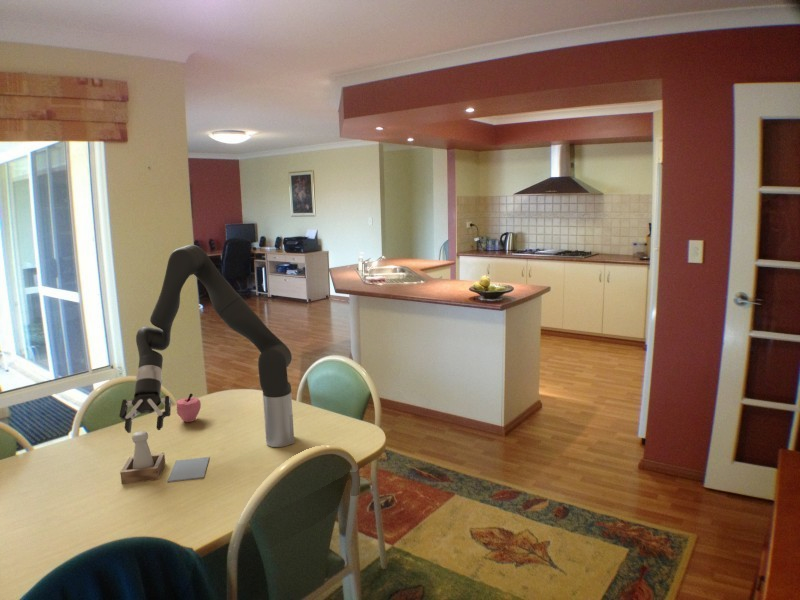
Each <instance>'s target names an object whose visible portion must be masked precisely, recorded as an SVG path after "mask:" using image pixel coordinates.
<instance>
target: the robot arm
mask: <svg viewBox="0 0 800 600" xmlns="http://www.w3.org/2000/svg"><path fill="white" fill-rule="evenodd" d="M167 260H168V261H167V265H166V270H165V275H164V278H163V283H162V287H161V291H160V293H159V297H158V298H157V301H156V303H155V305H154V308H153V311H152V313H151V315H150V319H149V321H150V323H151V325H152V326H154V327H155V328H154V327H150V326H142V327H140V328H139V329H138V330H137V332H136V335H135V343H136V347H137V352H138V358H139V359H138V366H137V367H138V370H137V372H136V378H135V386H134V395H133V399H132V400H127V399H122V400H121V401H122V402H121V406H120V411H119V415H118V416H119V418H120V419H121V420H122V421H125V422H124V430H125V431H126V433H127V434H131V432H132V425H133V421H132V420H134V418H135V417H137V416H138V415H139V414H141V415H142V414H147V413H148V414H151V413H153V412H154V413H155V414H156V415H157V419H156V429H157V431H161V429H163V427H164V420H165V419H164V418H166V417H170V416H171V406H172V405H171V402H172V401H171V400H172V399H171V398H170V396H169V395H165V397H161V391H162V383H163V373H162V371H163V370H162V369H163V360H164V359H163V358H164V357H163V355H162V353H160V352H158V351H164V350H166V349H168V347H169V346H170V343H171V332H172V326H173V323H174V320H175V318H176V316H177V314H178V312H179V309H180V304H181V291H182V288H183V286H184V285H185V283H186V281H187V280H188V279H189V278H190V277H191V276H195V277H196V278H197V279H198V280H199V281H200V283H201V284H202V285H203V287H204V288H205V289H206V292H207V293H208V296H209V299H210V300H209V301H210V303H211V305H212V307H213V310H214V311H215V313H216V314H217V316H218V317H219V318H220V319H221V320H222V322H224V323H225V324H226V325H227V326H228V327H229V328H230V329H231V330H233V331H235V332H236V333H238V334H239V335H240V336H242V337H244V338H246V339H247V340H248V341H250V342H251V343H252V344H253V345H254V346H255V347H256V349H257V350H258V351H259V352H260V354H259V357H258V362H257V367H258V375H259V376H258V378H259V385H260V388H261V390H262V401H263V402H262V403H263V414H264V429H265V430H264V431H265V443H266V445H267V446H269V447H271V448H282V447H286V446H289V445H292V444H295V431H294V413H293V401H292V400H293V399H292V397H293V396H292V384H291V382H289V380H288V370H287V369H288V367H289V366H290V364H291V362H292V359H293V358H292V356H293V355H292V352H291V350H290V348H289V347H288V346H287V345H286V344H285V343H284V342H283V341H282V340H281V339H280V338H278V336H276V334H274V333H273V332H272V330H270V328H268V326H267V325H266V324H265V323H264V322H263V321H262V320H261V318H260V317H259V316H258V315H257V314H256V313H255V311H254V310H253V309H252V308H251V307H250V305H249V304H248V303H247V302H246V301H245V299H243V297H242V296H241V295H240V294H239V293H238V292H237V291H236V290H235V288H234V287H233V286H232V285H231V284H230V283H229V282H228V280H227V279H226V278H225V277H224V276H223V274H222V273H221V272H220V271H219V270H218V268H217V267H216V265H215V263H214V262H213V261H212V260H211V258H210V257H209V256H208V254H207V252H206V251H205V250H204V249H203V248H201V247H200V246H198V245H195V244H189V245H185V246H184V245H183V246H182V247H179V248H176V249H175V250H173V251H172V252H171V253H170V255H169V258H168V259H167ZM162 403H163V405H164V411H161V409H160V408H159V406H160V404H162ZM131 406H133V407H132V408H131V409H130V411H129V412H128V410H129V408H130V407H131Z"/></svg>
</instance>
